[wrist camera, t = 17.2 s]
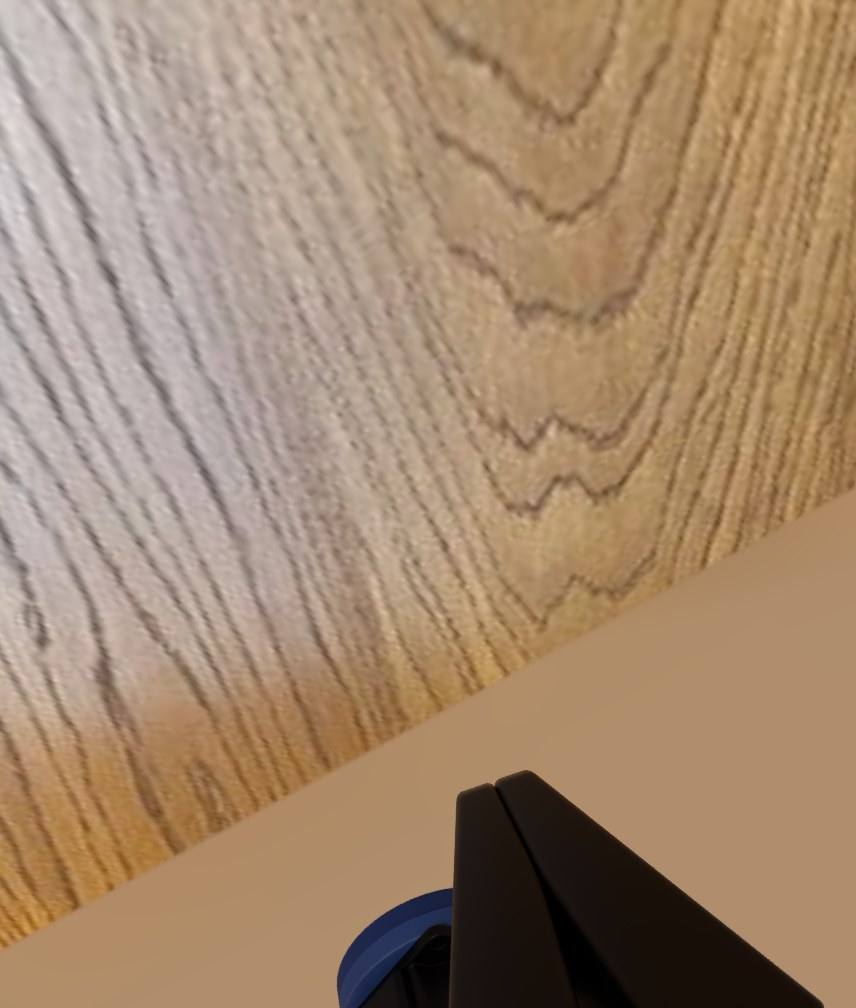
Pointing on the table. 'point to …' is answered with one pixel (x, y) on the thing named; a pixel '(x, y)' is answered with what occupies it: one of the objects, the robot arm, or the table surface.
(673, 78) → the table surface
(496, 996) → the robot arm
